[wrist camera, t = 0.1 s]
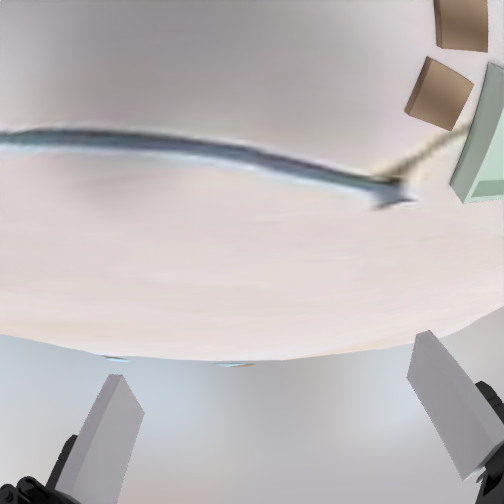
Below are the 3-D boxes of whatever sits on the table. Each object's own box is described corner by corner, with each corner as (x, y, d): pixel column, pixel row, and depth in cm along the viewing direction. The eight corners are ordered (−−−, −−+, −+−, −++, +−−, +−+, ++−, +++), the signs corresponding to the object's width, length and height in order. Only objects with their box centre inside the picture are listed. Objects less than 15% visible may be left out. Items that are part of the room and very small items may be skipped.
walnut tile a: (426, -18, 8) (437, -16, 8) (475, -8, 7) (486, -4, 7) (432, 43, 12) (442, 48, 12) (477, 46, 11) (487, 52, 11)
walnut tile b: (422, 54, 13) (432, 59, 12) (465, 77, 14) (474, 84, 13) (401, 107, 17) (408, 115, 16) (443, 123, 18) (451, 131, 17)
